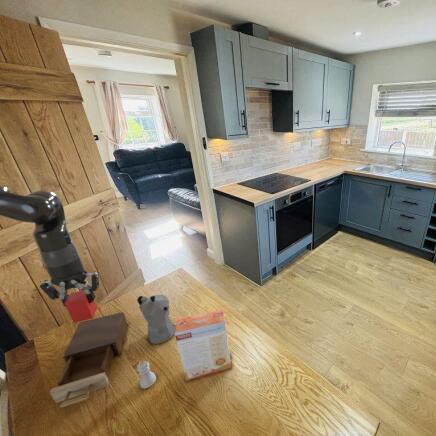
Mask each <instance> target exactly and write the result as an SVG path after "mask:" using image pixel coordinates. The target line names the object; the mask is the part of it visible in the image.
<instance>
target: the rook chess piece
mask: <svg viewBox="0 0 436 436" xmlns="http://www.w3.org/2000/svg"><path fill="white" fill-rule="evenodd" d="M150 369H151V367H150V363H149V361H146V360H142V361H140V362H139V364H138V365H137V368H136V371H137V372H138V373H139V375H140V379H139V387H140V388H141V389H148V388H151V386H153V385H154V384H155V382H156V380H157V376H156V374H155V372H153V371H151V370H150Z"/></svg>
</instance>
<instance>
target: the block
mask: <svg viewBox="0 0 436 436" xmlns="http://www.w3.org/2000/svg"><path fill="white" fill-rule="evenodd" d="M65 305H66V307H65V308H66V309H67V312H68V315H69V316H70V318H71V321H72V323H80V322H83V321H87V320H91V319H94V317H95V315H96V312H97V310H98V306H97V305H98V304H97V303H96V300H95V299H94V301H93V303H89V301H88V299H87V296H86V293H85V292H84V291H82V290H79V291H74V292H70V294H69V297H68V299H67V300H66V302H65Z"/></svg>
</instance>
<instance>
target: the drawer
mask: <svg viewBox="0 0 436 436" xmlns="http://www.w3.org/2000/svg"><path fill="white" fill-rule="evenodd" d="M114 353H115V350H114V348H113V345H109V346H105V347H102V348H98V349H95V350H91V351H87V352H84V353H80V354H77V355H73V356H70V357H69V359H68V362H67V363H65V365H64V368H63V370H62V372H61V374H60V377H59V379H58V381H57V386H56V387H53V388H51V389H50V391H49V394H50V396H51V397H52V399H53V400H54V403H56V404H58V403H60V405H59V407H60V409H64V408H67V407H70V406H73V405H75V404H79V403H82V402H85V401H88V400H89V399H90V397H91V394H90V393H91V392H95V391H97V390H100V389H103V388H106V387H109V385H110V381H109V374H110V372H111V371H110V370H111V367H112V364H113V359H114V358H115V357H114Z"/></svg>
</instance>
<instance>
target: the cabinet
mask: <svg viewBox="0 0 436 436" xmlns="http://www.w3.org/2000/svg"><path fill="white" fill-rule="evenodd" d="M128 325H129V324H128V321H127V319H126V315H125V312H124V311H121V312H117V313H113V314H108V315H105V316H101V317H100V316H99V317H97V318H96V317H95V318H92V319H88V320H84V321H80V322H78V325H77V326H76V329H75V331H74V333H73V336H72V337H71V339H70V341H69V343H68V345H67V347H66V350H65V352H64V353H63V356H62V358H63V360H64V361H65V364H67V362H68V359H69V357H70V356H73V355H77V354H80V353H84V352H87V351H91V350H95V349H98V348H102V347H105V346H109V345H113V348H114V350H115V353H114V357H113V358H116V357H119V356H120V355H121V351H122V347H123V344H124V340H125V336H126V332H127V328H128Z"/></svg>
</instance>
